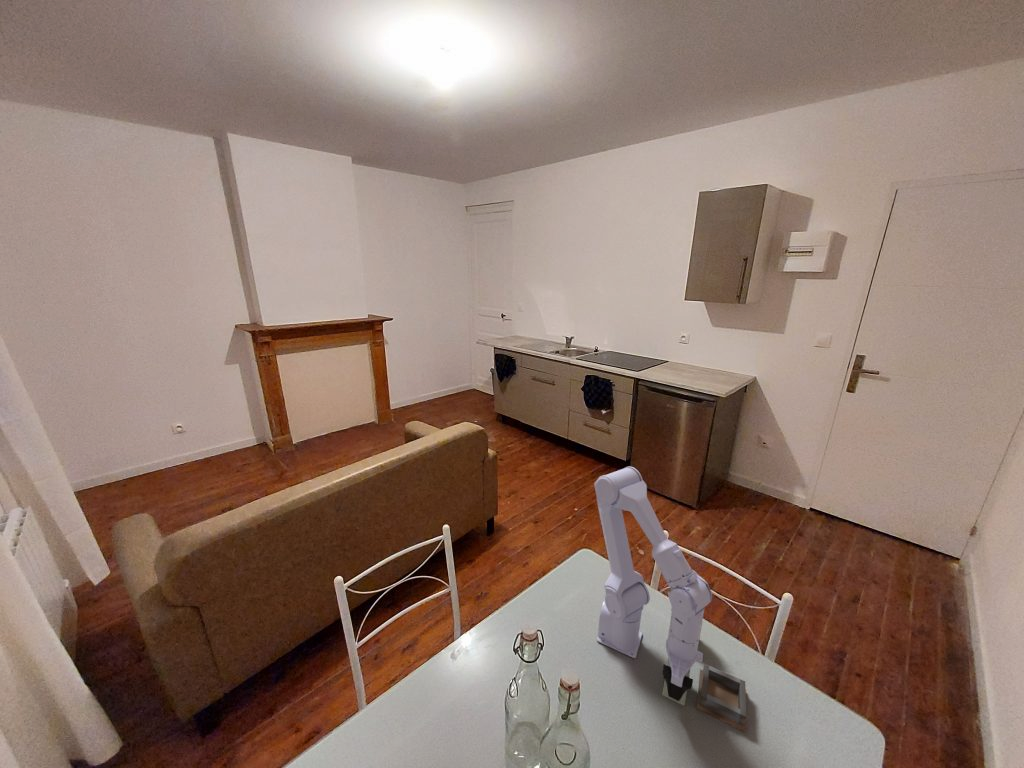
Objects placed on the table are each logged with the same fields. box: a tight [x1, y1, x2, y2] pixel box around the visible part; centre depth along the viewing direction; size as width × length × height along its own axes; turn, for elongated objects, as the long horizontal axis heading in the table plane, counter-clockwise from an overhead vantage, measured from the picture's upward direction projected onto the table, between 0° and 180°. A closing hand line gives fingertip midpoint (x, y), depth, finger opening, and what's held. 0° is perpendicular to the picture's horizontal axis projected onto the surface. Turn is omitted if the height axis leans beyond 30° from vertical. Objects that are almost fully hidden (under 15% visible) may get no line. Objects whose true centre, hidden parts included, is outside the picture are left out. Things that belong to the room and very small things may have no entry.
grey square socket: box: [696, 663, 748, 733], centre depth 82 cm, size 9×9×3 cm
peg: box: [662, 657, 691, 706], centre depth 83 cm, size 4×4×8 cm
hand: (676, 681), depth 83 cm, fingers open, 7 cm apart
